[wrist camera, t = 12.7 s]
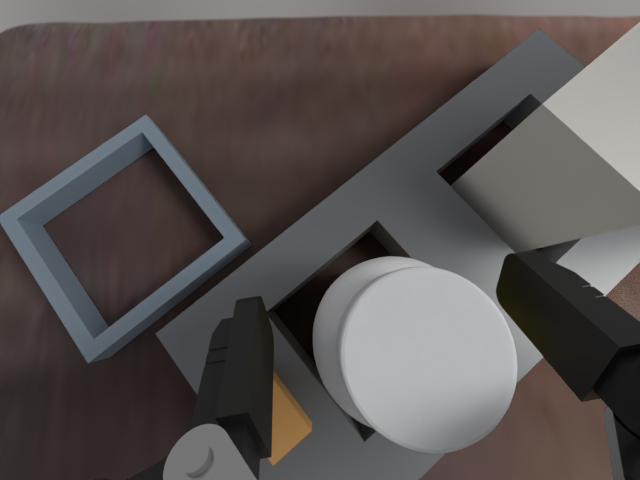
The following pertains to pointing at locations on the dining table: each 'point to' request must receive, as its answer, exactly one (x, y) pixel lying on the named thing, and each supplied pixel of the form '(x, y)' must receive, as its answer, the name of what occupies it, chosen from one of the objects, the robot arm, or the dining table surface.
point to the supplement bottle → (415, 354)
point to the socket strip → (449, 231)
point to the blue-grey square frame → (57, 275)
